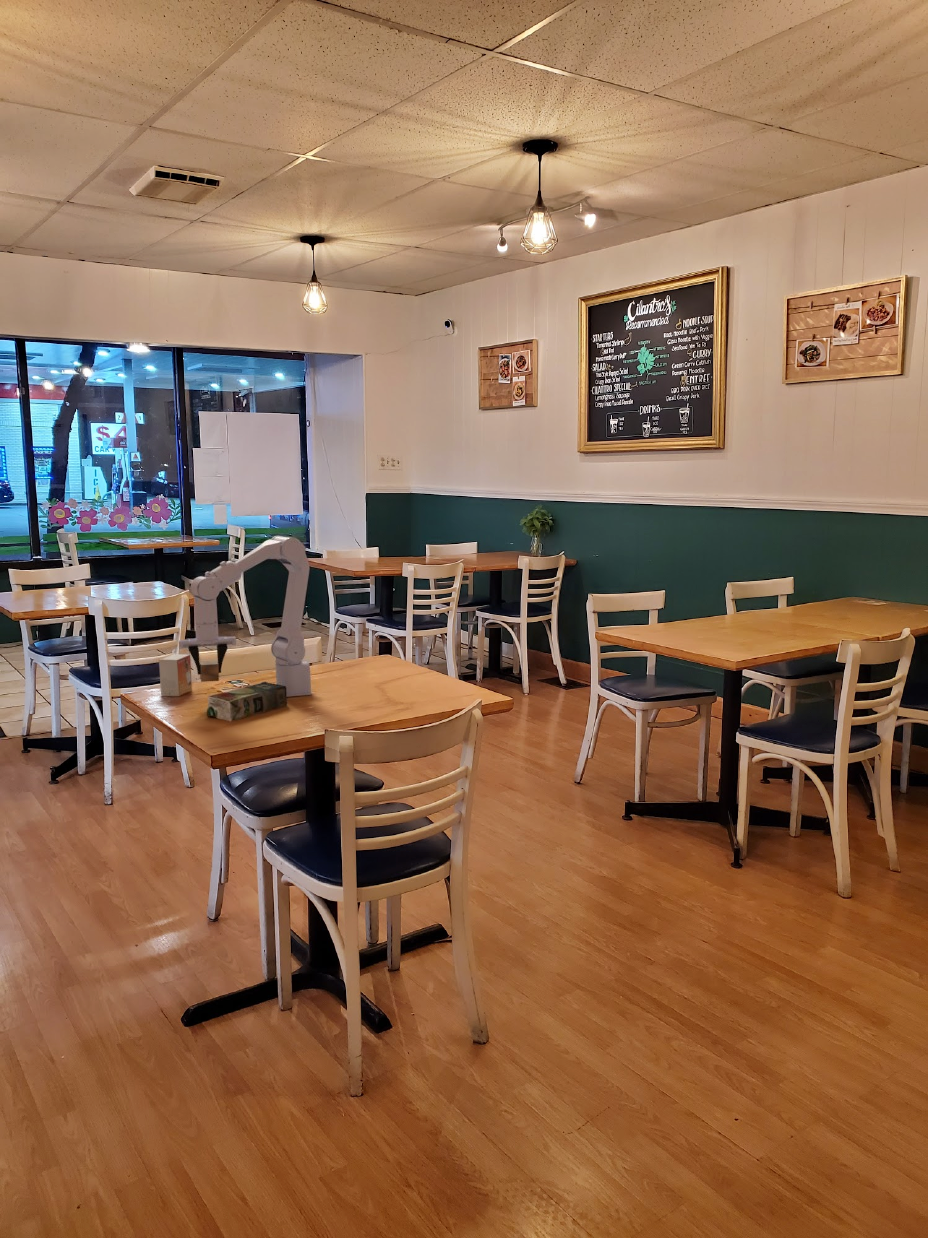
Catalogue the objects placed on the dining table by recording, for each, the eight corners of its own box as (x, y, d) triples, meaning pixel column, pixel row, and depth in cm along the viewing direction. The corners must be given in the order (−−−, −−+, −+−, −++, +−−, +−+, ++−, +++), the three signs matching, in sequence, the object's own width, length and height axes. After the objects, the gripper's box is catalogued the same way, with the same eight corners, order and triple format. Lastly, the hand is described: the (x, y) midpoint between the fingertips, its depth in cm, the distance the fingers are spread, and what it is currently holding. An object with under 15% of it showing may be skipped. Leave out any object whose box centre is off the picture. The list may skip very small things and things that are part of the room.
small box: (178, 697, 260) (176, 660, 258) (160, 696, 261) (158, 659, 259) (192, 690, 267) (190, 654, 266) (174, 689, 268) (172, 653, 267)
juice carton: (228, 723, 234) (227, 699, 233) (203, 717, 239) (202, 694, 238) (288, 707, 249) (287, 685, 248) (263, 702, 255) (263, 680, 254)
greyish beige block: (217, 677, 250) (217, 660, 250) (218, 680, 246) (218, 664, 245) (200, 678, 249) (199, 661, 248) (201, 681, 245) (200, 665, 244)
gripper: (178, 626, 239) (181, 678, 241) (236, 623, 244) (238, 673, 246) (177, 622, 246) (180, 672, 248) (233, 618, 250) (236, 668, 252)
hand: (209, 673), depth 247 cm, fingers closed on greyish beige block, 4 cm apart
